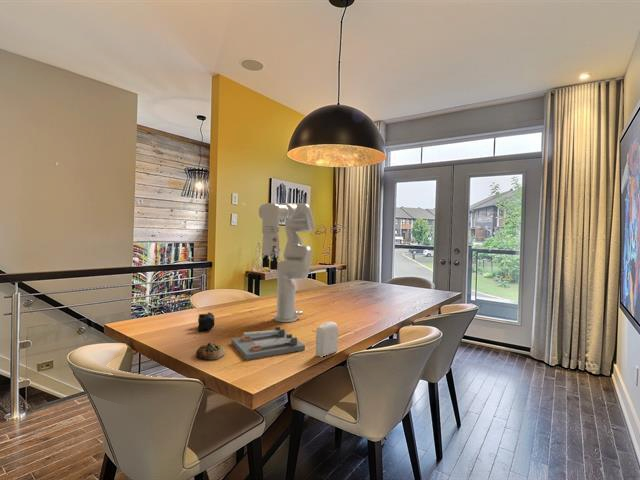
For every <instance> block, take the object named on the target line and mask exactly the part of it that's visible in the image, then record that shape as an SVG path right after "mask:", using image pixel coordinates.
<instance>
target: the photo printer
mask: <svg viewBox="0 0 640 480" xmlns="http://www.w3.org/2000/svg"><path fill="white" fill-rule="evenodd" d="M338 332H339V327H338V323H336V322H333V321H325V322H323V323H321V324H320V325H319V326H317V328H316V331H315V355H316V357H318V356H320V357H319V358H324V357H323V356H325V357H327V356H329V354H330V355H332V354H334V353H336V352H338V342H339V340H338V339H339V338H338V337H339V336H338V334H339V333H338ZM331 353H332V354H331ZM326 355H327V356H326ZM321 356H322V357H321Z"/></svg>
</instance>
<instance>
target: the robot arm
mask: <svg viewBox="0 0 640 480" xmlns="http://www.w3.org/2000/svg"><path fill="white" fill-rule="evenodd" d="M258 216H259V218H260V219H261V220H262V223H261V225H262V226H261V233H262V243H261V244H262V246H261V247H262V248H261V255H262V256H261V258H262V260H261V261H262V263H261V267H262V268H269V269H270V270H271V271H276V278H277V289H276V291H277V292H276V293H277V294H276V295H277V296H276V315H273V320H274V321H275V322H280V323H292V322H296V321H297V320H298V316H302V315H304V312H303V310H301V311H299V310H296V308H295V307H296V285H295V283H294V281H293V279H294V280H306V279H307V278H308V276H309V274H310V269H311V266H312V260H313V249H312V248H311V247H310V246H308V245H302V244H303V239H302V238H301V236H300V235H299V234H298V233H299V232H301V233H310V232H313V231H314V229H315V225H316V224H315V219H314V216H313V211H312V209H311V207H310V205H309V204H308V203H294V202H293V203H292V202H291V203H289V202H287V203H286V202H285V203H274V202H273V203H271V202H268V203H267V202H266V203H262V204H261V205H260V206H259V208H258ZM280 221H284V227H285V234H286V239H287V240H286V244H285V247H284V250H283V255H282V256H283V257H282V258H283V260H280V261H279V256H280V238H279V234H280ZM297 232H298V233H297ZM269 257H270V258H269Z"/></svg>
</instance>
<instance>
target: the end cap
mask: <svg viewBox="0 0 640 480" xmlns="http://www.w3.org/2000/svg"><path fill="white" fill-rule="evenodd" d="M197 321H198V322H197V323H198V327H197V332H198V333H205V332H207V331H208V332H209V331H211V330H212V329H214V327H215V315H214V314H213V313H212V312H207V313H201V314H198V320H197Z"/></svg>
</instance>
